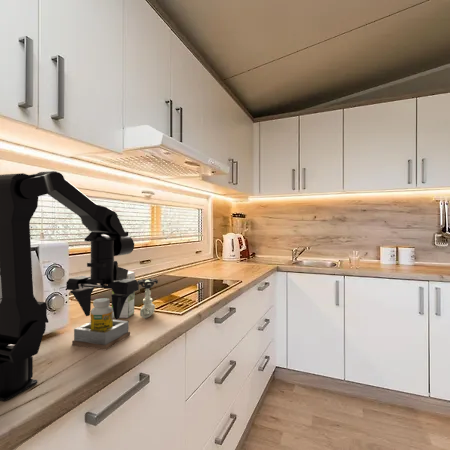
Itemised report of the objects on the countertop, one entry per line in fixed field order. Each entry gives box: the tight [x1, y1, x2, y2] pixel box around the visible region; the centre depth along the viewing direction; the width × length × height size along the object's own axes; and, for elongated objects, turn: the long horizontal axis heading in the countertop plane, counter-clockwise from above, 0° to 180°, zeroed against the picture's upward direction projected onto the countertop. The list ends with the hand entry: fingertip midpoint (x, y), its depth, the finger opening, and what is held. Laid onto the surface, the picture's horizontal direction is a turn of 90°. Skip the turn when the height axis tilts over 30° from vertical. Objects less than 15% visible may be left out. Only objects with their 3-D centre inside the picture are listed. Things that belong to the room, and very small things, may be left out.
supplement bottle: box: [90, 297, 114, 331], centre depth 80 cm, size 5×5×10 cm
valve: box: [137, 278, 159, 319], centre depth 101 cm, size 7×7×12 cm
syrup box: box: [111, 270, 136, 319], centre depth 101 cm, size 6×6×14 cm
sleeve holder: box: [71, 319, 131, 351], centre depth 80 cm, size 10×10×4 cm
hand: (102, 317), depth 80 cm, fingers open, 9 cm apart
